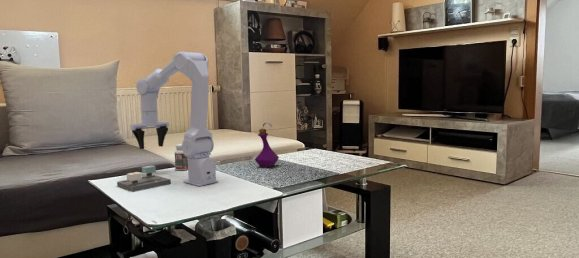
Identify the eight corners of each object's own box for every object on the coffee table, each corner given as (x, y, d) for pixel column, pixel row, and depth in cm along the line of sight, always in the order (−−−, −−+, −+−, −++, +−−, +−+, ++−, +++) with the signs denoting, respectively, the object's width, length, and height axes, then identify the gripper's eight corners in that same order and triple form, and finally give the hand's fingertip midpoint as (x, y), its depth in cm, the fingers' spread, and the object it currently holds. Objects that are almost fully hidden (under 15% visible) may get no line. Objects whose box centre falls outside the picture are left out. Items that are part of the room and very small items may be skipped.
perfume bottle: (254, 167, 166) (253, 122, 164) (262, 164, 173) (261, 120, 171) (271, 168, 164) (270, 123, 162) (279, 165, 170) (278, 121, 168)
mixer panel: (170, 183, 142) (170, 179, 142) (132, 191, 132) (132, 186, 132) (154, 178, 150) (154, 174, 149) (117, 186, 140) (117, 181, 140)
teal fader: (155, 175, 147) (155, 166, 146) (146, 177, 144) (145, 167, 144) (151, 174, 149) (151, 165, 148) (142, 176, 146) (141, 166, 146)
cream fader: (142, 182, 136) (141, 172, 136) (131, 184, 134) (130, 174, 133) (137, 181, 138) (137, 171, 138) (127, 183, 136) (126, 173, 135)
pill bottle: (186, 171, 162) (185, 145, 161) (172, 170, 163) (171, 145, 162) (192, 168, 168) (191, 143, 167) (179, 167, 169) (178, 143, 168)
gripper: (161, 109, 164) (163, 144, 165) (125, 112, 154) (127, 148, 155) (171, 110, 159) (173, 145, 161) (134, 113, 149) (136, 150, 150)
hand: (151, 147), depth 157 cm, fingers open, 7 cm apart
